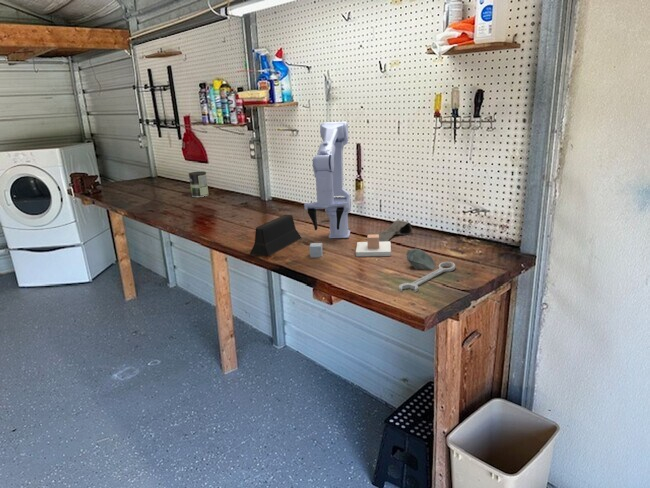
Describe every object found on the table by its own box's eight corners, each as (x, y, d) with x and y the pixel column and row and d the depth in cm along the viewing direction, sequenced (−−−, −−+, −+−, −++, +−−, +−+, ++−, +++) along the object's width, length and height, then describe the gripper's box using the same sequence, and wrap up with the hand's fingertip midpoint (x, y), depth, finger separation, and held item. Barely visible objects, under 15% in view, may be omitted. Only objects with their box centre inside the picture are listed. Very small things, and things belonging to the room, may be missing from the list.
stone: (439, 263, 156) (411, 252, 159) (443, 252, 154) (414, 241, 157) (431, 277, 147) (401, 265, 150) (434, 266, 145) (404, 254, 148)
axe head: (379, 241, 173) (360, 236, 180) (381, 254, 175) (362, 248, 182) (416, 221, 184) (397, 217, 191) (417, 233, 186) (398, 229, 193)
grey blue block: (311, 253, 169) (311, 243, 168) (322, 253, 169) (322, 242, 167) (310, 257, 165) (309, 246, 164) (321, 257, 165) (320, 246, 164)
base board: (357, 245, 175) (357, 242, 174) (390, 245, 173) (390, 241, 173) (355, 256, 163) (355, 252, 163) (390, 255, 162) (390, 251, 161)
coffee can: (192, 198, 284) (188, 174, 280) (191, 195, 293) (188, 172, 289) (209, 196, 287) (206, 173, 283) (208, 193, 296) (205, 170, 292)
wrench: (410, 295, 130) (410, 289, 129) (394, 291, 134) (394, 284, 133) (458, 269, 147) (459, 263, 146) (443, 265, 151) (443, 260, 150)
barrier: (269, 257, 169) (266, 230, 166) (249, 254, 173) (246, 228, 170) (302, 238, 189) (300, 214, 186) (283, 237, 193) (281, 213, 190)
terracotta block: (368, 245, 170) (367, 234, 168) (379, 245, 169) (379, 234, 168) (367, 248, 166) (367, 237, 165) (379, 248, 165) (378, 237, 164)
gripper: (302, 193, 157) (304, 232, 161) (345, 191, 156) (347, 231, 160) (305, 189, 164) (307, 227, 168) (346, 187, 162) (348, 226, 166)
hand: (327, 229), depth 164 cm, fingers open, 7 cm apart
